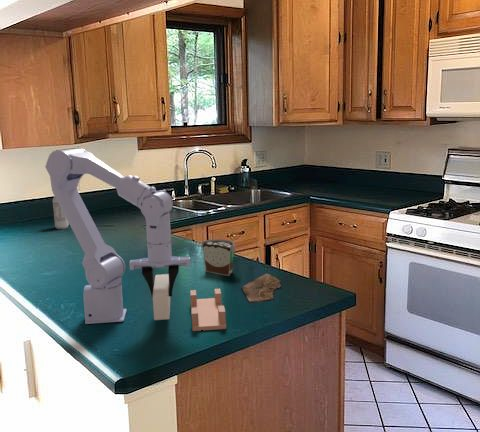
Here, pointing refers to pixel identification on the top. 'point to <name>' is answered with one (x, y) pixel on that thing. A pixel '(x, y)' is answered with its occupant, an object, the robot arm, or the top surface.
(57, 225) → the energy drink can
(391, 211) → the top surface
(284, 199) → the top surface
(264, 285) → the wooden fragment
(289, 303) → the top surface
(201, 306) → the rack
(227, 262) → the food container
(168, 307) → the strip
